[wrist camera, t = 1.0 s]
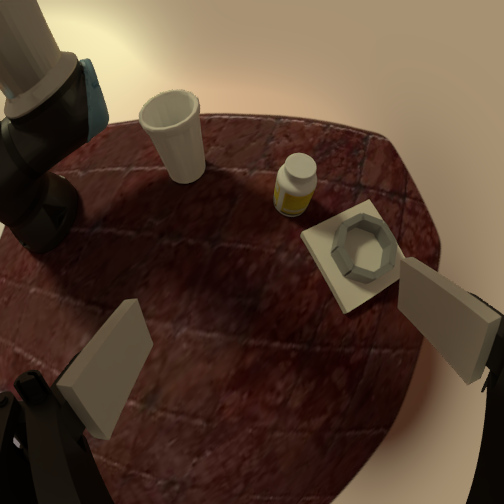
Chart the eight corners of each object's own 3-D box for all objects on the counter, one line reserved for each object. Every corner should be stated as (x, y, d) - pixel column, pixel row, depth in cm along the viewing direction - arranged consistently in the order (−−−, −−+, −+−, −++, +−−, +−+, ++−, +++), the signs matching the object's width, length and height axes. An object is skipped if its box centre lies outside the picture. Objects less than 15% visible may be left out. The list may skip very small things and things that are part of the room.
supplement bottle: (314, 205, 42) (330, 170, 33) (288, 224, 41) (299, 191, 32) (291, 181, 43) (301, 142, 34) (265, 198, 42) (270, 161, 33)
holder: (300, 235, 40) (306, 223, 36) (365, 203, 42) (376, 190, 38) (343, 313, 37) (355, 310, 33) (406, 272, 39) (421, 264, 35)
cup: (211, 148, 45) (201, 85, 31) (211, 187, 43) (198, 126, 29) (166, 153, 45) (143, 94, 31) (162, 192, 42) (132, 135, 29)
